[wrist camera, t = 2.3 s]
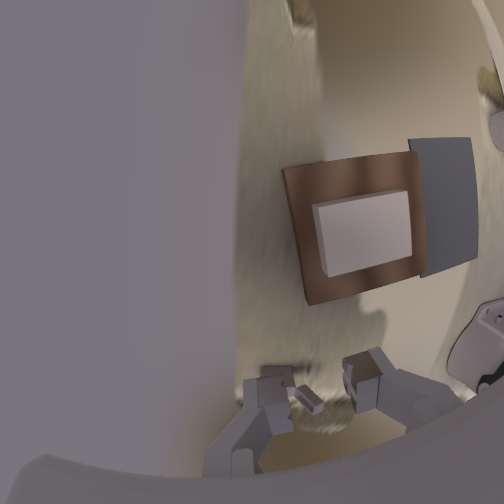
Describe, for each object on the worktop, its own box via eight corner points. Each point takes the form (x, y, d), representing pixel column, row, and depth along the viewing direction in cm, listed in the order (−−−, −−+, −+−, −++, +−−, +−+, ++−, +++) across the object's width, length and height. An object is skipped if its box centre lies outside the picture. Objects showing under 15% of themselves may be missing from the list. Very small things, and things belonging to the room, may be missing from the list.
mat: (468, 137, 26) (470, 137, 26) (475, 256, 31) (477, 257, 31) (407, 139, 27) (409, 138, 26) (419, 277, 32) (421, 278, 31)
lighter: (259, 375, 35) (263, 418, 27) (260, 366, 34) (264, 409, 27) (310, 374, 35) (322, 415, 27) (312, 365, 35) (326, 406, 27)
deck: (408, 151, 27) (417, 150, 25) (418, 267, 31) (426, 272, 29) (281, 169, 28) (284, 169, 26) (305, 298, 32) (309, 306, 30)
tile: (395, 189, 27) (407, 190, 24) (400, 249, 28) (411, 255, 26) (311, 204, 27) (318, 207, 24) (321, 269, 29) (328, 277, 26)
